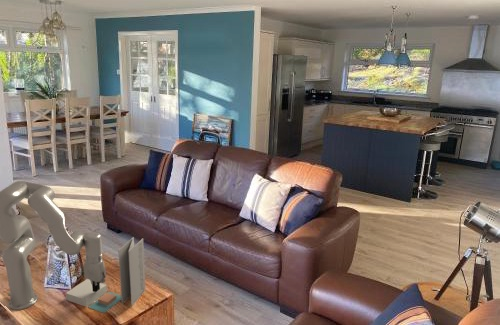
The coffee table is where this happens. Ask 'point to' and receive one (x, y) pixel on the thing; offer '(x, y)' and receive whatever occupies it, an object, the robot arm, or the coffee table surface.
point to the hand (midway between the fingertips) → (96, 290)
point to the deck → (85, 293)
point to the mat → (103, 307)
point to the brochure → (132, 270)
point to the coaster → (107, 299)
